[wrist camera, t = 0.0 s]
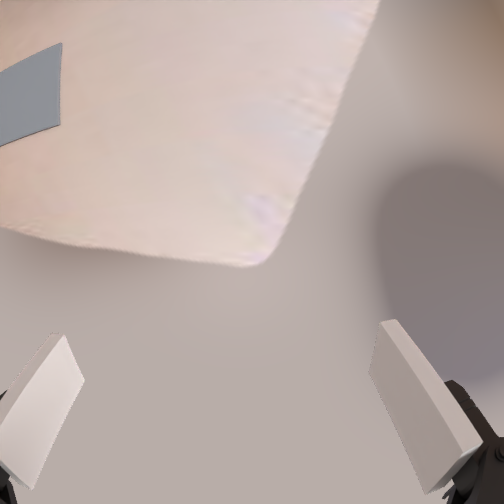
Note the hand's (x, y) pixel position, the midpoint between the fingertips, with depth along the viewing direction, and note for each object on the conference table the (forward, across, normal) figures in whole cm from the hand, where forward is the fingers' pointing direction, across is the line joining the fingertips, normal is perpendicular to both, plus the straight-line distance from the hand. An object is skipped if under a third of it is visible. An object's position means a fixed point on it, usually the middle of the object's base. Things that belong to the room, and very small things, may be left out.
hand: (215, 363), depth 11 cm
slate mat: (+28, -31, +21) cm, 47 cm away
